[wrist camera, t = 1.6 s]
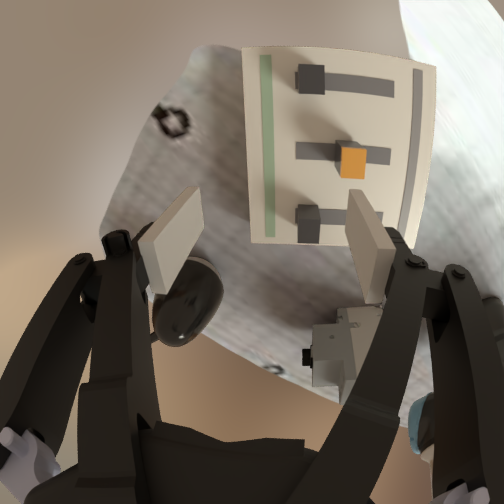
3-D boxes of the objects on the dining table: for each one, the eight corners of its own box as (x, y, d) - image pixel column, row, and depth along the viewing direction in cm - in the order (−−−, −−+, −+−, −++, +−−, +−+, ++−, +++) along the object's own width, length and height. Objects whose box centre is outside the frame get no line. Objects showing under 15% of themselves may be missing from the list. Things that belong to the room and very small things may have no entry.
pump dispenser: (157, 261, 47) (117, 324, 35) (204, 236, 44) (169, 303, 31) (192, 303, 51) (165, 369, 39) (240, 285, 48) (221, 358, 35)
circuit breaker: (302, 309, 49) (301, 382, 36) (381, 305, 46) (400, 374, 34) (302, 337, 53) (301, 406, 40) (375, 333, 50) (388, 399, 38)
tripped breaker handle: (356, 141, 28) (366, 149, 24) (355, 167, 30) (364, 179, 26) (335, 139, 28) (342, 147, 25) (334, 165, 30) (340, 177, 26)
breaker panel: (419, 67, 26) (452, 65, 18) (402, 231, 39) (423, 265, 31) (248, 53, 29) (234, 42, 21) (255, 225, 41) (246, 260, 34)
